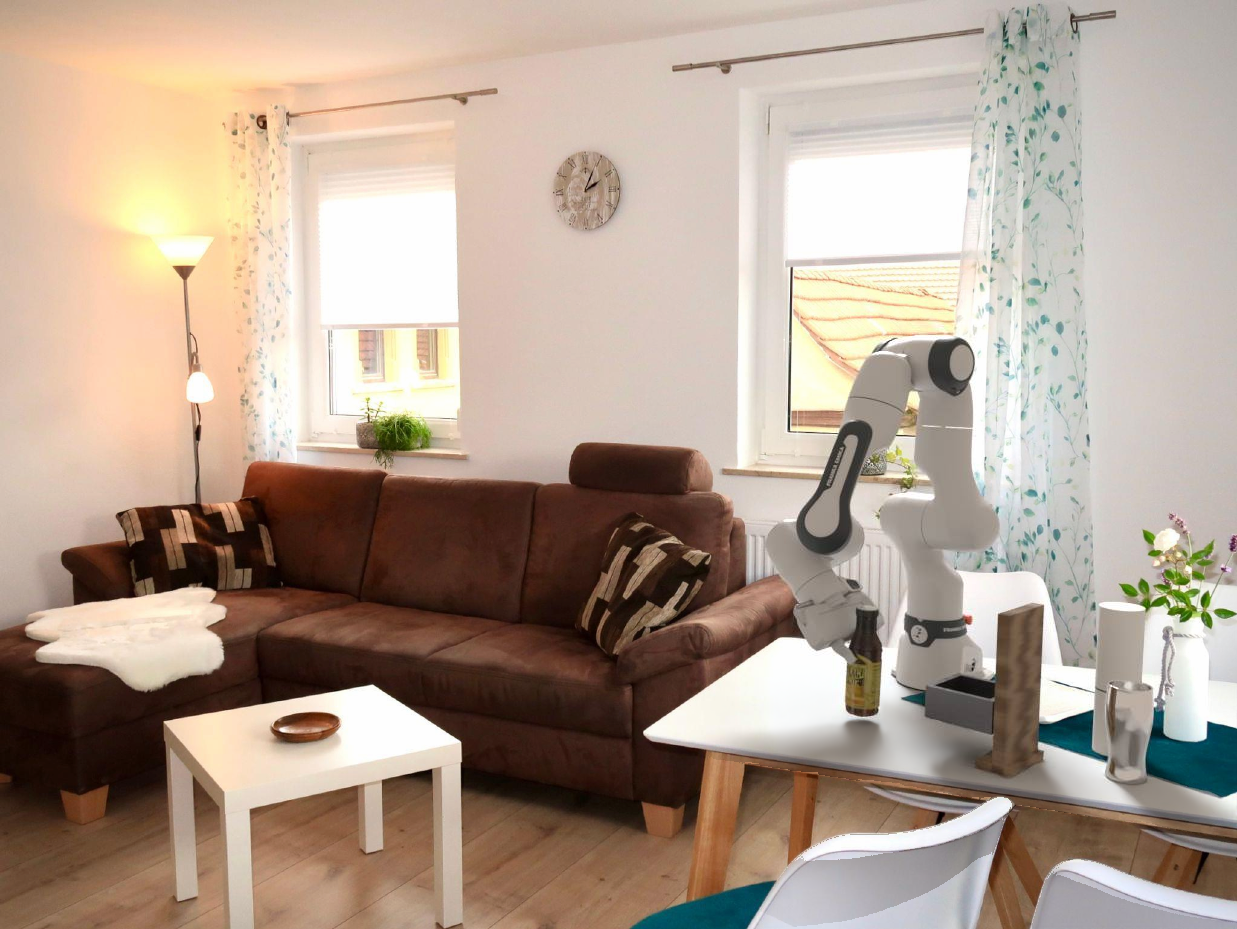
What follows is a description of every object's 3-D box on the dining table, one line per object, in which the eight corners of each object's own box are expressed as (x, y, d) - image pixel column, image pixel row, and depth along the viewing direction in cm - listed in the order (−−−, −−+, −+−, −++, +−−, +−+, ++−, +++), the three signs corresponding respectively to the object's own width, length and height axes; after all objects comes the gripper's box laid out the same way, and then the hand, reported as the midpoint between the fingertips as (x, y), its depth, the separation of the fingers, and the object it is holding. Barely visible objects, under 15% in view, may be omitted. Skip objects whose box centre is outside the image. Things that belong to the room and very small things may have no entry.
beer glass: (1155, 787, 167) (1160, 693, 165) (1107, 783, 168) (1112, 690, 167) (1143, 771, 174) (1147, 680, 172) (1097, 767, 175) (1101, 677, 174)
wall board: (1008, 750, 183) (1015, 599, 180) (1043, 759, 178) (1050, 605, 176) (974, 767, 175) (980, 610, 172) (1009, 778, 170) (1016, 617, 168)
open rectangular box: (957, 703, 189) (958, 672, 188) (1026, 720, 180) (1027, 688, 179) (924, 717, 181) (925, 685, 181) (994, 735, 172) (995, 702, 172)
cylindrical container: (1135, 761, 178) (1143, 613, 176) (1088, 753, 182) (1095, 607, 179) (1140, 748, 184) (1148, 605, 182) (1095, 740, 188) (1102, 600, 185)
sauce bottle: (837, 709, 199) (840, 604, 197) (865, 705, 201) (868, 601, 199) (859, 720, 193) (861, 612, 191) (887, 716, 195) (890, 609, 193)
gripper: (799, 595, 193) (844, 660, 187) (864, 579, 207) (907, 638, 201) (779, 615, 196) (822, 679, 190) (844, 598, 210) (886, 656, 204)
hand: (866, 658), depth 196 cm, fingers closed on sauce bottle, 6 cm apart
